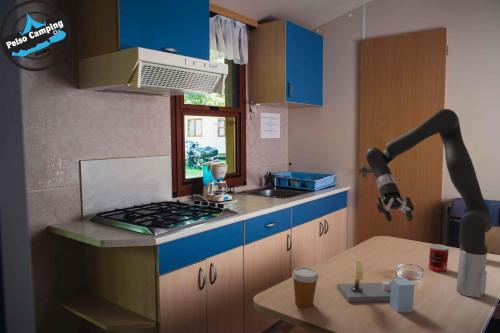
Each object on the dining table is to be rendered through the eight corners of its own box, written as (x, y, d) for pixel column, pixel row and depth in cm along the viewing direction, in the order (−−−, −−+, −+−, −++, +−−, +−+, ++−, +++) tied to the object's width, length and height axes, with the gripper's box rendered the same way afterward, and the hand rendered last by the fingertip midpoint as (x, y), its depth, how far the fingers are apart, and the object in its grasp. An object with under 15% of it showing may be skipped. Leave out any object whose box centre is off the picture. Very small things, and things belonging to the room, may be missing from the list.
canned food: (442, 267, 185) (444, 244, 183) (449, 273, 177) (451, 249, 175) (425, 266, 185) (427, 243, 184) (431, 272, 177) (433, 248, 176)
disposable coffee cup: (299, 295, 150) (301, 265, 148) (322, 303, 144) (323, 271, 142) (285, 303, 142) (287, 272, 141) (308, 312, 136) (310, 279, 135)
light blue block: (404, 304, 144) (406, 278, 143) (412, 311, 139) (414, 284, 138) (389, 305, 144) (391, 278, 143) (397, 312, 138) (399, 285, 137)
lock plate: (391, 287, 160) (392, 276, 159) (406, 300, 148) (407, 289, 147) (337, 288, 157) (337, 277, 156) (348, 302, 145) (349, 290, 144)
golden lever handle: (353, 286, 152) (354, 260, 151) (359, 287, 152) (361, 260, 151) (354, 299, 141) (356, 270, 140) (361, 300, 141) (363, 271, 140)
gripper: (375, 182, 161) (387, 215, 151) (407, 182, 163) (421, 215, 153) (368, 192, 167) (380, 225, 156) (400, 192, 169) (413, 225, 158)
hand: (400, 220), depth 155 cm, fingers open, 8 cm apart
